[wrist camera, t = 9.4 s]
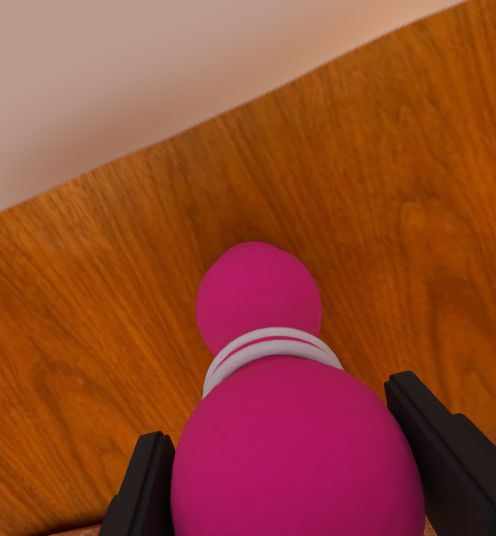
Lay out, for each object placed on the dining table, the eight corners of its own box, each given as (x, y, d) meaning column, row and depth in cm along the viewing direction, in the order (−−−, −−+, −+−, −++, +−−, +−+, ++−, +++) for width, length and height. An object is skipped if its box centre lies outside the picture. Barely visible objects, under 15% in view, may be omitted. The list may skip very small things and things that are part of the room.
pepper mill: (183, 263, 23) (-68, 707, 4) (277, 215, 22) (549, 448, 3) (232, 345, 25) (231, 928, 6) (319, 303, 24) (656, 791, 5)
